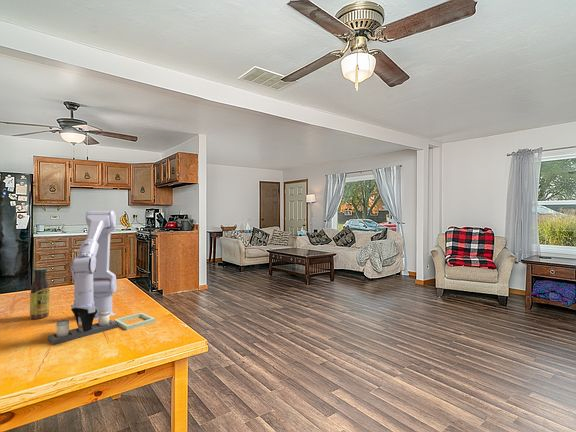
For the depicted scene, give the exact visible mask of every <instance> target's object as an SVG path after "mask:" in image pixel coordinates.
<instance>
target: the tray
mask: <svg viewBox="0 0 576 432" xmlns="http://www.w3.org/2000/svg"><path fill="white" fill-rule="evenodd" d="M138 318H142V319H145V320H141V321H138V322H135V323H130V324H127V323H125V322H127V321H131V320H134V319H138ZM113 321H114V322H116V323H117V327H120V328H121V329H124V330H127V331H129V330H132V329H135V328H140V327H143V326H146V325H149V324H153V323H154V324H155V323H156V318H155V317H153V316H151V315H148V314H146V313H144V312H139V313H135V314H134V313H133V314H130V315H126V316H123V317H119V318H115V319H113Z"/></svg>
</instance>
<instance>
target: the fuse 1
mask: <svg viewBox="0 0 576 432" xmlns="http://www.w3.org/2000/svg"><path fill="white" fill-rule="evenodd" d="M55 324H56V325H55V327H56V333H57V337H56V338H61V337H65V336H69V330H70V319H60V320H57V321H56V322H55Z"/></svg>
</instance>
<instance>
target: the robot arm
mask: <svg viewBox="0 0 576 432" xmlns="http://www.w3.org/2000/svg"><path fill="white" fill-rule="evenodd" d="M85 223H86V224H87V227H88V229H87V234H86V238H85V240H84V239H83V241H82V242H81V243H80V246H79V250H78V252H77V254H76V255H77V256H76V257H75V258H73V259H71V260H72V261H71V264H70V271H71V272H70V273H71V275H72V279H73V280H74V282H73V283H74V286H73V289H74V290H73V292H74V294H73V295H74V299H73V304H70V308H71V309H70V310H71V312H72V313H73V315H74V318H75V321H76V325H77V327H78V317H79V316H80V318H81V322H82V327H83V331H88V330H91V327H92V324H94V323H93V322H94V320H99V319H98V312H100V311H104V310H109V317H111V316H117V314H116V312H113V294H115V292H116V291H117V288H118V287H117V285H118V283H117V275H116V274H115V273H114V272H113V271H111V270H110V258H111V257H110V255H111V253H110V251H111V235H112V232H114V231H115V230H116V225H117V214H116V212H115V210H91V209H90V210H89V209H88V211H87V212H86V213H85Z"/></svg>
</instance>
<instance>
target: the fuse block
mask: <svg viewBox="0 0 576 432" xmlns="http://www.w3.org/2000/svg"><path fill="white" fill-rule="evenodd" d="M109 324H110V325H107V326H103V327H99V322H96V323H92V327H91V330H88V331H84V332H80V333H79V332H78V331H79V330H78V327H75V328H72V329H69V336H65V337H61V338H56V337H57V332H55V333H51V334H48V335H47V340H48V341H49V342H50V343H51V344H52V345H53V346H55V345H59V344H64V343H67V342H71V341H74V340H79V339H81V338H85V337H89V336H92V335H96V334H99V333H104V332H107V331H111V330H114V329H118V327H119V326H118V325H117V323H116V322H114V320H112V319H109Z"/></svg>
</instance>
